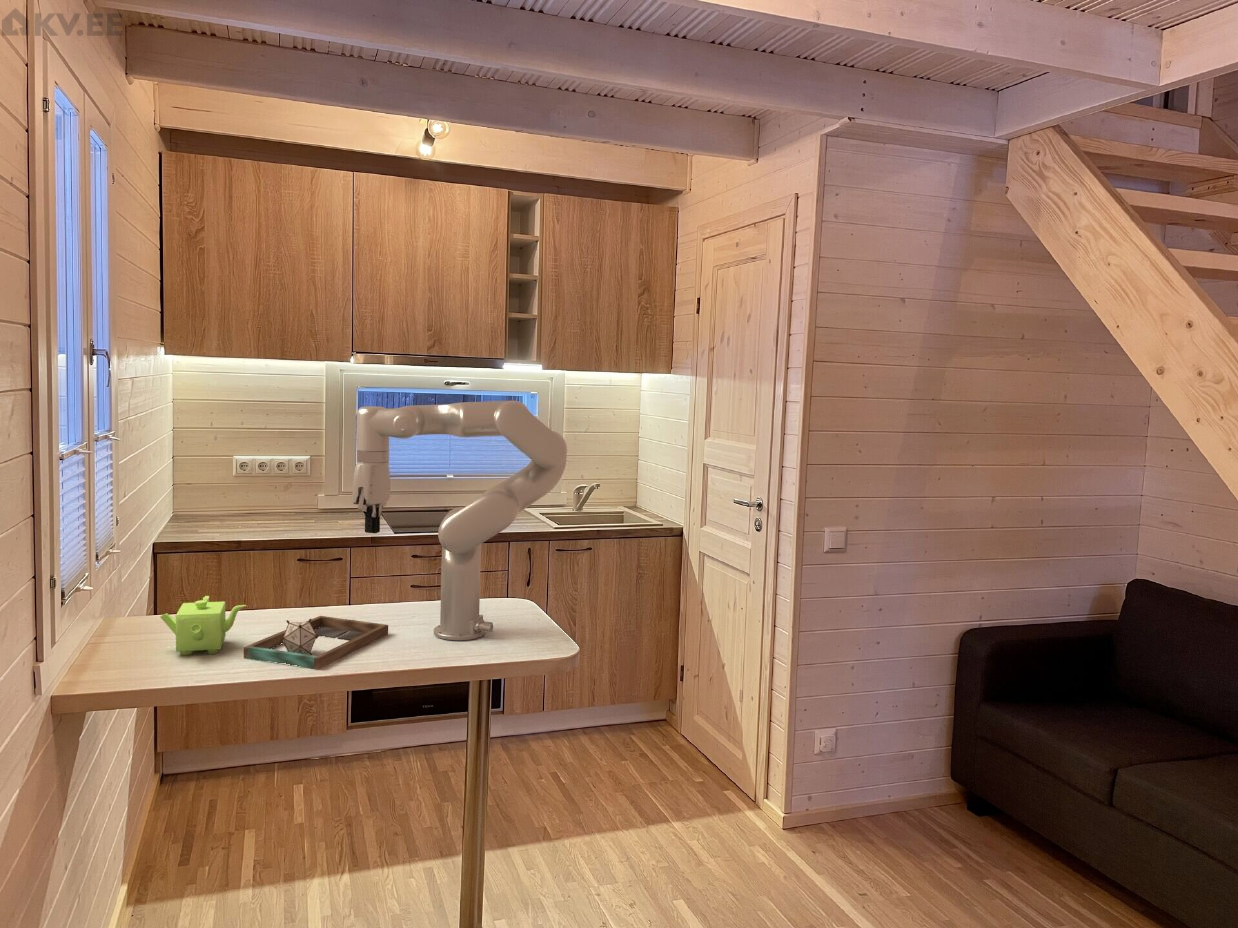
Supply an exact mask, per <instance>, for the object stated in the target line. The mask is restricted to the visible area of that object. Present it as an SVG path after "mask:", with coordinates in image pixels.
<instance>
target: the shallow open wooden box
mask: <svg viewBox="0 0 1238 928" xmlns="http://www.w3.org/2000/svg"><path fill="white" fill-rule="evenodd" d="M310 619H311V621H310V624H311V626H312V627H313V629H314V631H315V633H316V635H320V636H319V637H322V636H325V637H324V638H329V637H330V639H335V638H337V640H343V639H344V640H345V641H346V642H344V643H342V644H340V645H338V646H336V647H333V648H332V649H329V650H327V651H326V652H323V653H321V654H319V655H313V654H312V655H310V654H308V653H305V654H300V653H293V652H288V651H287V650H285V651H284V650H280V649H279V650H278V649H274V648H276V646H277V645H279V646H281V645H282V644H281V643H283V641H279V640H280V638H281V637H283V636H284V634H285V631H286V629H284V630H283V631H282V630H281V631H280V632H277V633H275V634H272V635H269V636H267V637H265V638H262V639H260V640H258V641H255V642H252V643H250V644H248V645H246V646H243V659H247V660H253V659H255V661H259V660H261V662H266V661H271V662H270V663H272V662H277V663H276V664H279V663H286V664H290V665H289V666H292V665H297V666H296V667H298V666H301V667H300V668H305V667H307V669H312V670H321V669H323V668H325V667H327V666H329V665H331V664H334V663H335V662H337V661H339V660H341V659H343V658H345V657H347V656H349V655H351V654H353V653H355V652H357V651H358V650H361V649H363V648H365V647H366V646H368V645H369V646H370V644H373V643H375V642H376V641H379V640H381V639H383V638H385V637H387V636H388V635H389V624H383V623H377V622H370V621H363V620H357V619H356V620H355V619H347V618H339V617H334V616H333V617H332V616H325V615H318V616H316V617H314V618H310ZM308 621H309V620H307V621H305V622H308ZM319 627H321V628H319ZM315 629H316V630H315ZM280 644H281V645H280ZM273 647H274V648H273ZM277 647H278V646H277ZM271 648H272V649H271ZM356 650H357V651H356ZM354 651H355V652H354ZM352 652H353V653H352ZM350 653H351V654H350ZM348 654H349V655H348Z"/></svg>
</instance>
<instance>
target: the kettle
mask: <svg viewBox="0 0 1238 928" xmlns="http://www.w3.org/2000/svg"><path fill="white" fill-rule="evenodd" d="M246 606H247V605H246V604H239V605H235V606H234V607H232V609H231V611H230V613H229V616H228V617H227V619H226V601H210V596H209V595H205V596H204V597H202V599H201V600H196V601H194V602H183V603H182V604H181V606H180V608H179V609H178V611H177V613H176V615H175V618H174V617H172V616H171V615H170V614H169V613H168V612H167V613H163V614H160V616H159V617H160V619H161V620H162V621H163V622H164V623H165V624H166V626H167V627H168V628H169V630H171V631H172V633H173V634H174V635H175V652H181V653H180V655H181V656H189V655H192V654H193V652H195V651H207V654H209V653H215V654H217V653H216V652H218V651H219V650H221V648H222V646H223V643H224V642H225V641H224V640H225V638H226V633H227V632H229V631H230V629H232V627H233V625H234V622H235V621H236V616H237V614H238V613H239V611H240V610H241V609H243V608H245V607H246ZM218 653H219V652H218Z"/></svg>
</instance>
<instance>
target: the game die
mask: <svg viewBox="0 0 1238 928" xmlns="http://www.w3.org/2000/svg"><path fill="white" fill-rule="evenodd" d="M311 619H312V618H309V620H307V621H308V622H306V621H297V622H290V621H289V620H288V619H286V623H287V626H286V629H285V630H286V631H285V634H284V636H283V637H281V638H280V640H279V641H283V643H284V644H283V645H284V647H285V649H286V651H287V652H293V653H300V654H308V655H313V653H312V649H313V647H314V644H315V642H316V640H317V639H318V638H319V637H321V636H320V635H316V633H315V630H314V629H313V627H312V626H311V624H310V621H311Z"/></svg>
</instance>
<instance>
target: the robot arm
mask: <svg viewBox="0 0 1238 928" xmlns="http://www.w3.org/2000/svg"><path fill="white" fill-rule="evenodd" d="M356 418H357V419H356V421H357V423H356V464H355V468H354V472H353V481H352V497H351V498H352V499H351V500H352V504H353V505H358V506H357V510H358V511H359V512H363V517H364V532H365V533H367V534H378V533H380V532H381V515H382V510H383V508H384V507H385V506H387V503H388V501H389V500H390V497H391V476H390V475H391V473H390V467H389V464H390V438H396V439H401V440H402V439H410V438H412V437H414V436H423V435H424V436H427V435H447V436H448V435H450V436H454V437H457V438H476V437H477V438H479V437H480V438H481V437H482V438H483V437H501V436H502V437H504V438H505V440H507V441H508V442H510V444H512V445H513V446H514V447H515V448H516V449H518V450H519V451H520V452H521V453H522V454H524V455H525V456H526V457H527V458H528V459H530V461H529V463H528V464H527V465H526V466H525V467H523V468H522V469H520V470H519V471H517V472H516V473H514V474H513V475H511V476H510V477H508V478H507V479H504V480H503V481H501V482H499V483H497V484H496V485H494V486H492V487H490V488H488V489H487V490H485V491H484V493H483V494H482V495H481V496H480V497H478V498H477V499H475V500H474V501H471V502H470V503H468V504H467V505H466V506H459V507H454V508H453V509H451V510H450V511H448V513H446V515H445V516H444V517H443V519H442V521H441V523H440V525H439V526H438V530H437V531H438V532H437V537H438V540H439V543H440V545H441V547H442V548H441V567H440V568H441V572H440V617H439V618H440V624H439V625H437V626H435V627H434V628H433V634H434V636H435V637H437V638H439V639H442V640H447V641H469V640H471V641H472V640H475V639H478V638H481V637H483V636H484V635H485V634H486V632H488V633H492V632H493V630H494V624H493V622H492V621H486V620H484V615H482V614H480V603H481V602H480V599H481V598H480V597H481V596H480V595H481V594H480V593H481V567H482V566H481V564H482V563H481V560H482V559H481V558H482V545H483V543H485V542H486V541H488V540H490V539H491V538H493V537H494V536H496V535H498V534H500V533H501V532H502V531H504V530H506V529H507V528H508V527H509V526H510V525H512V524H513V523H514V521H515V520H516V519H517V517H518V516H517V515H518V514H519V513H521V512H522V511H524V510H525V509H527V508H528V507H529V506H531V505H533V504H535V503H536V502H537V501H538V500H540V499H542V498H543V497H545V496H546V495H547V494H549V493H550V492H551V491H552V490H553V489H554V488H555V487H556V486H557V485H558V483H559V482H560V480H561V478H562V476H563V474H564V471H565V470H566V466H567V458H568V457H567V454H568V447H567V442H566V440H565V439H564V436H562V435H561V434H560V433H559V432H557V431H553V430H552V429H551V428H549V427H548V426H547V425H546V424H544V423H543V422H542V421H541V420H540V419H539V418H537V417H536V416H535V415H534V414H533V413H531V411H530V410H529V408H528V407H527V405H526V404H525V403H523V402H521V401H518V400H494V401H493V400H492V401H467V402H465V401H464V402H463V401H462V402H456V403H449V404H448V403H447V404H446V403H445V404H425V405H421V404H420V405H419V404H418V405H417V404H416V405H404V406H401V407H396V408H386V407H384V406H375V405H374V406H371V405H370V406H369V405H367V406H361V407H359V408H358V410H357V417H356Z"/></svg>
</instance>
